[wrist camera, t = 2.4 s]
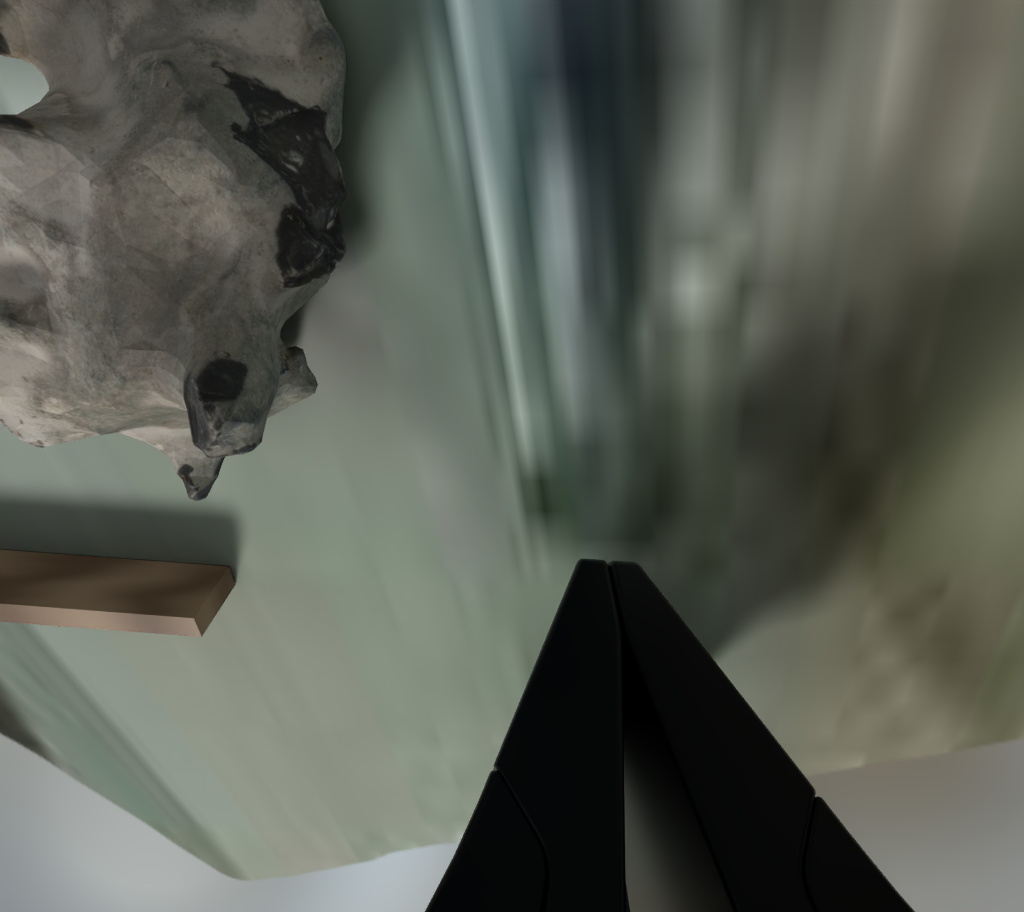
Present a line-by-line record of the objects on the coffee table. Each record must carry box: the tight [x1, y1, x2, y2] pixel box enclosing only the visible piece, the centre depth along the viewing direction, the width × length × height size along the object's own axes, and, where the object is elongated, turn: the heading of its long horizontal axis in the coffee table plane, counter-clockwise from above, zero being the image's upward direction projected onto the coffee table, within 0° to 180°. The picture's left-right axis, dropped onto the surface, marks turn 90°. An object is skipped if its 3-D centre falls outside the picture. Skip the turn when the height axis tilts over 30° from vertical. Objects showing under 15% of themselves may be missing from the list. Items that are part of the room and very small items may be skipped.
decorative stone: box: [0, 0, 347, 501], centre depth 14 cm, size 16×9×10 cm, turn 173°
